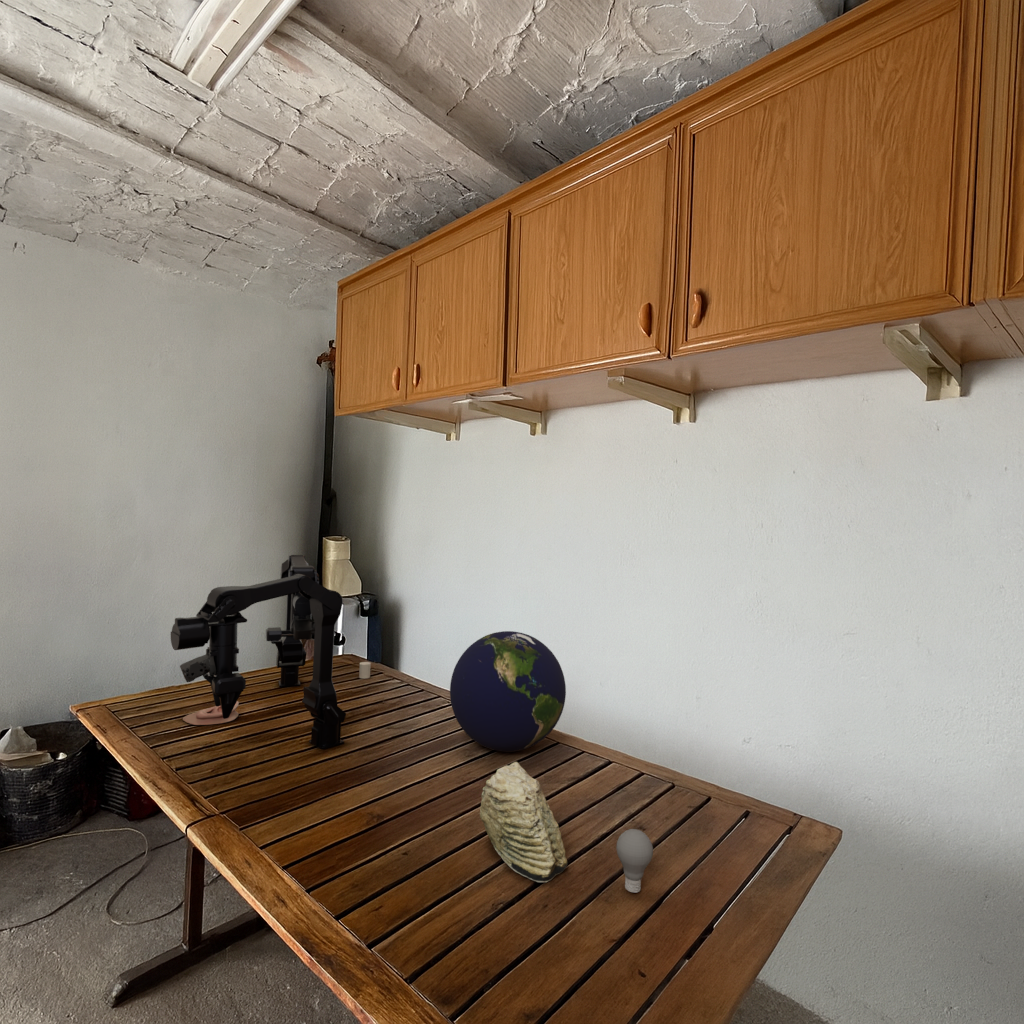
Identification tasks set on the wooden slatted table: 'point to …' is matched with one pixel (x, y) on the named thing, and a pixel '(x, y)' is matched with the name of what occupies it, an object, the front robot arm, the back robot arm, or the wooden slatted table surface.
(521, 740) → the globe
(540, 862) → the fossil
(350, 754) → the wooden slatted table surface
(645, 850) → the light bulb
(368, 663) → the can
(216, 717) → the anatomical model
